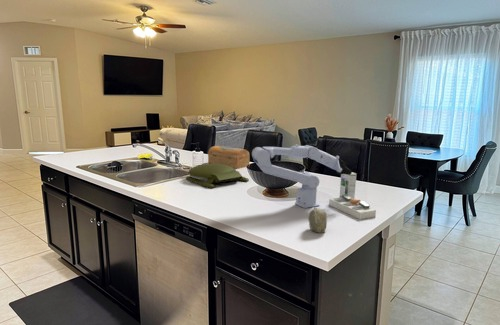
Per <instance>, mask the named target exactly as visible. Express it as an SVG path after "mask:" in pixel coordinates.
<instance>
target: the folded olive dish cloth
mask: <svg viewBox="0 0 500 325" xmlns="http://www.w3.org/2000/svg"><path fill="white" fill-rule="evenodd" d="M187 174H188V175H190V176H186V177H185V180H186V181H188V182H191V183H193V184H196V185H199V186H202V187H204V188H206V189H211V190H212V189H214V188H215V187H216V185H215V184H219V183H223V182H224V183H225V182H230V181H238V182H239V181H240V182H244V183H246V182H249V179H250V178H248V177H245V176H242V174H241V173H240V171H238V170H237V169H234V168H233V167H231V166H228V165H224V164H217V163H209V164H208V163H206V164H205V163H204V164H198V165H195V166H192V168H190V169H189V170H188V173H187ZM200 178H201V179H200ZM202 179H206V180H202Z"/></svg>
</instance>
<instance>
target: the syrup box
mask: <svg viewBox="0 0 500 325" xmlns="http://www.w3.org/2000/svg"><path fill="white" fill-rule="evenodd" d="M356 184H357V173H356V172H352V173H351V174H350V175H347V174H340V184H339V186H340V187H339V197H338V198H340V197H342V195H345V194H346V195H348V196H349V197H351V198H352V199H355V195H356Z"/></svg>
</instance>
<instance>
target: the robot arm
mask: <svg viewBox="0 0 500 325" xmlns="http://www.w3.org/2000/svg"><path fill="white" fill-rule="evenodd" d="M251 156H252V159H253V161H254V163H256V165H257V166H258V168H259V169H260V170H261V171H262V172H263V173H264V174H267V175H271V176H274V177H278V178H281V179H285V180H289V181H292V182H297V183H299V184H301V187H299V188H297V190H296V192H295V193H296V195H295V196H296V197H295V203H294V204H295V205H297V206H299V207H301V208H302V209H306V208H307V209H308V208H312V207H313V208H315V207H320V206H321V205H320V204H319V203H317V190H318V189H317V188H318V186H319V184H320V179H319V177H317V176H316V175H314V174H312V173H310V172H309V171H305V172H301V171H296V170H292V169H288V168H286V167H281V166H278V165H275V164H272V162H271V159H273V158H274V157H275V156H290V157H291V158H294V159H296V158H297V159H306V158H309V159H310V160H313V161H316V162H317V163H320V164H322V165H323V166H326V167H328V168H329V169H332V170H334V171H336V175H339V176H341V174H347V175H350V174H351V173H353V171H352V170H351V169H350V168H348V167H347V163H346V162H344V161H343V160H342V159H341V158H340V156H339V155H337V154H335V155H331V154H330V153H328V152H325V151H323V150H321V149H318V147H315V146H312V145H308V144H305V145H299V144H297V143H296V144H294V145H292V146H290V147H280V146H262V147H260V146H256V147H254V148H253V149H252V152H251Z"/></svg>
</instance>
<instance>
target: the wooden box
mask: <svg viewBox="0 0 500 325" xmlns="http://www.w3.org/2000/svg"><path fill="white" fill-rule="evenodd" d="M207 154H208V155H207V156H208V157H207V158H208V159H207V160H208V161H207V162H208V163H207V164H209V163H217V164H224V165H228V166H231V167H233V168H234V169H235V170H239V169H243V168H247V167H246V166H247V165H249V166H250V159H251V158H250V152H249V151H248V150H247V149H243V148H237V147H229V146H222V145H214V146H211V147H210V148H209V149H208V153H207Z"/></svg>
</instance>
